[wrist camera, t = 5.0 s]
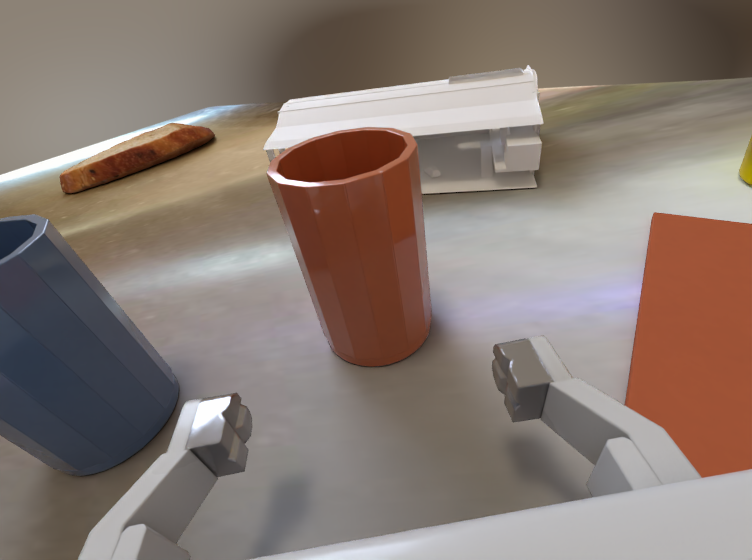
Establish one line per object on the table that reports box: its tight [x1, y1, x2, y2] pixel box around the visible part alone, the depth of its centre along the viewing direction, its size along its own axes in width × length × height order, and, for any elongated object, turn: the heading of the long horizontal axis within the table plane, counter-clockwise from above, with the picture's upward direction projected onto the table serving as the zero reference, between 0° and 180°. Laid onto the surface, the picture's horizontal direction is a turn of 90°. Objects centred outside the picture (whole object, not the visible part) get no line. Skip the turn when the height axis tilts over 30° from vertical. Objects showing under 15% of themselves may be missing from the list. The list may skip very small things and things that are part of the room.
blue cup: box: [0, 215, 179, 476], centre depth 16 cm, size 6×6×10 cm
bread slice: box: [60, 123, 215, 193], centre depth 53 cm, size 18×18×4 cm
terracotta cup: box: [267, 127, 432, 366], centre depth 18 cm, size 6×6×10 cm
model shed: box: [263, 65, 543, 202], centre depth 36 cm, size 25×15×7 cm, turn 79°
